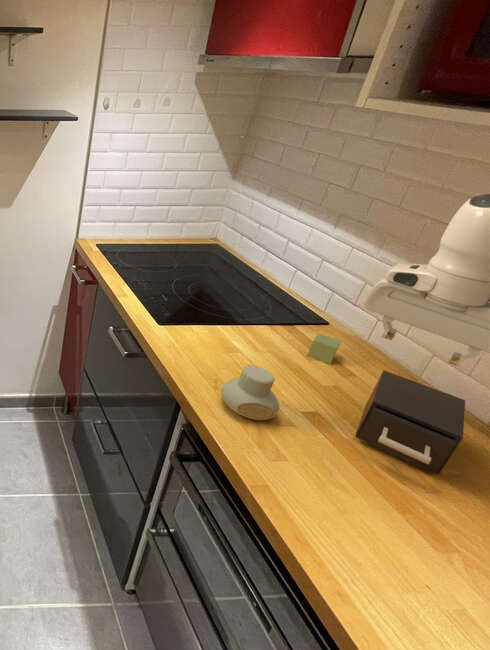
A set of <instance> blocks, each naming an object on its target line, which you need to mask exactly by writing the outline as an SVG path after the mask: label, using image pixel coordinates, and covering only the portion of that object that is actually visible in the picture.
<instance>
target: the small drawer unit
mask: <svg viewBox="0 0 490 650" xmlns="http://www.w3.org/2000/svg"><path fill="white" fill-rule="evenodd" d="M377 406H378V407H381V408H383V409H386V410H388V411H390V412H393V413H395V414H398V415H400V416H403V417H405V418H407V419H410V420H412V421H415V422H417V423H419V424H422V425H424V426H427V427H429V428H432V429H434V430H436V431H439V432H441V433H444V434H446V435H448V436H450V437H449V438H450V439H453V440H455V441H456V444H455V446H454V447H453V449H452V450H451V452H450V454H449V455H448V457H447V458H446V460H445V461H444V463H443V464H442V466H441V467H440V469H439V470H438V472H437V474H436V475H440V473H441V472H442V471H443V469H444V467H445V466H446V464H447V463H448V461H449V460H450V458H451V457H452V456H453V454H454V452H455V451H456V449H457V448H458V446H459V445H460V443H461V441H462V440H463V439H464V430H465V429H464V427H465V414H466V413H465V412H466V411H465V410H466V399H463V398H460V397H457V396H456V395H452V394H449V393H447V392H444V391H441V390H438V389H437V388H434V387H430V386H428V385H425V384H423V383H420V382H417V381H415V380H412V379H408V378H407V377H404V376H400V375H398V374H396V373H392V372H390V371H387V370H384V369H383V370H382V373H381V374H380V376H379V378H378V380H377V382H376V384H375V386H374V388H373V390H372V392H371V394H370V396H369V398H368V400H367V402H366V403H365V407H364V409H363V413H362V415H361V418H360V421H359V423H358V426H357V430H356V433H355V434H354V437H356V438H358V439H359V437H360V435H361V433H362V431H363V429H364V427H365V425H366V423H367V422H368V420H369V418H370V416H371V414H372V412H373V410H374V408H375V407H377Z"/></svg>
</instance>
